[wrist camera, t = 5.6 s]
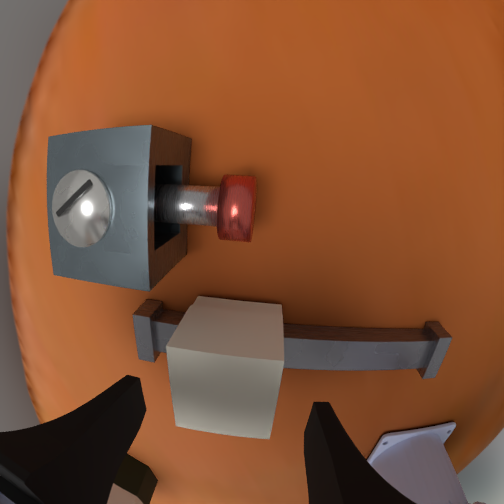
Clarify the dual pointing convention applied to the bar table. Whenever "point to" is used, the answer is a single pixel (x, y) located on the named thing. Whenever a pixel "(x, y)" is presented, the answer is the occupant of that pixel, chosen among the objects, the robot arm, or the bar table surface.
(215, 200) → the plunger
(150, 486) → the wine bottle
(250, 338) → the carriage
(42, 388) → the bar table surface
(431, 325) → the rail
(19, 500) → the robot arm
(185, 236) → the gauge cabinet
